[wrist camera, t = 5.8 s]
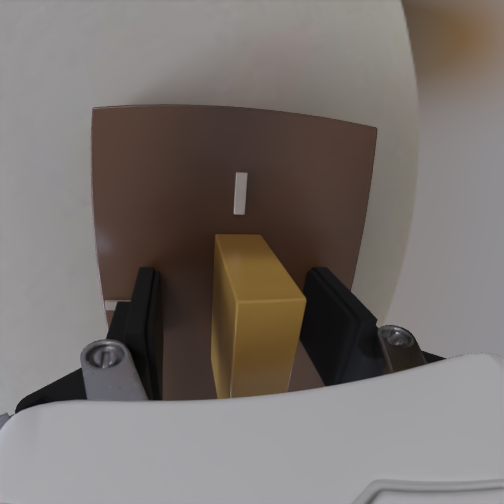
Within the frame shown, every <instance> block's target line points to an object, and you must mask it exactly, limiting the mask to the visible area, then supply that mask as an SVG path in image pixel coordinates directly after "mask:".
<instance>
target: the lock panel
mask: <svg viewBox="0 0 504 504" xmlns="http://www.w3.org/2000/svg"><path fill="white" fill-rule="evenodd" d="M376 138H377V128H376V127H372V126H367V125H362V124H358V123H353V122H347V121H342V120H337V119H331V118H325V117H319V116H312V115H306V114H299V113H291V112H283V111H275V110H265V109H255V108H243V107H229V106H212V105H174V104H161V105H125V106H107V107H94V108H93V109H92V126H91V191H92V211H93V226H94V238H95V248H96V257H97V266H98V274H99V281H100V288H101V295H102V301H103V307H104V313H105V318H106V324H107V329H108V331H109V327H110V324H111V320H112V317H113V314H114V311H115V307H116V304H117V302H118V301H131V297H132V293H133V290H134V286H135V282H136V278H137V275H138V271H139V268H140V267H154V268H155V271H160V276H161V300H162V317H163V332H164V348H163V401H174V400H207V399H218V397H217V391H216V386H215V380H214V374H213V368H212V362H211V337H212V300H213V272H214V249H215V235H216V234H250V235H261V236H262V237H263V239H264V240H265V241H266V243H267V244H268V246H269V247H270V248H271V250H272V251H273V253H274V254H275V255H276V257H277V258H278V260H279V261H280V262H281V264H282V265H283V267H284V268H285V269H286V271H287V272H288V274H289V275H290V276H291V278H292V279H293V281H294V282H295V283H296V285H297V286H298V288H299V289H300V291H301V292H302V293H303V290H304V284H305V279H306V274H307V272H308V271H310V270H311V268H312V267H327V268H328V269H329V270H330V271H331V272H332V273H333V274H334V275H335V276H336V277H337V278H338V279H339V280H340V281H341V282H342V283H343V284H344V285H345V286H346V287H347V288H348V289H349V290H350V291H351V287H352V283H353V278H354V274H355V269H356V264H357V260H358V255H359V250H360V245H361V239H362V234H363V229H364V223H365V217H366V211H367V205H368V199H369V192H370V186H371V179H372V171H373V164H374V156H375V147H376ZM321 387H325V385H324V383H323V381H322V379H321V378H320V376H319V374H318V372H317V370H316V369H315V367H314V365H313V363H312V361H311V360H310V358H309V356H308V354H307V352H306V351H305V349H304V347H303V345H302V343H301V342H300V340H299V341H298V346H297V350H296V355H295V360H294V364H293V369H292V373H291V378H290V382H289V386H288V391H287V393H288V392H295V391H302V390H309V389H315V388H321Z"/></svg>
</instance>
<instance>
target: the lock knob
mask: <svg viewBox="0 0 504 504" xmlns="http://www.w3.org/2000/svg"><path fill="white" fill-rule="evenodd" d="M305 306H306V298H305V296H304V295H303V293H302V292H301V291H300V289H299V288H298V286H297V285H296V283H295V282H294V281H293V279H292V278H291V276H290V275H289V274H288V272H287V271H286V269H285V268H284V267H283V265H282V264H281V262H280V261H279V260H278V258H277V257H276V255H275V254H274V253H273V251H272V250H271V248H270V247H269V246H268V244H267V243H266V241H265V240H264V239H263V237H262V236H261V235H250V234H216V235H215V249H214V272H213V300H212V337H211V362H212V368H213V374H214V380H215V386H216V391H217V397H218V399H225V398H239V397H251V396H261V395H271V394H280V393H287V391H288V386H289V382H290V378H291V373H292V369H293V364H294V360H295V355H296V350H297V346H298V341H299V336H300V331H301V326H302V321H303V316H304V311H305Z"/></svg>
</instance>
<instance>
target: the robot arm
mask: <svg viewBox="0 0 504 504" xmlns="http://www.w3.org/2000/svg"><path fill="white" fill-rule="evenodd" d="M303 295H304V296H305V298H306V306H305V311H304V316H303V321H302V326H301V331H300V336H299V340H300V342H301V343H302V345H303V347H304V349H305V351H306V352H307V354H308V356H309V358H310V360H311V361H312V363H313V365H314V367H315V369H316V370H317V372H318V374H319V376H320V378H321V379H322V381H323V383H324V385H325V387H321V388H315V389H309V390H302V391H295V392H288V393H280V394H271V395H261V396H251V397H239V398H225V399H207V400H174V401H163V348H164V332H163V317H162V300H161V276H160V271H155V268H154V267H140V268H139V271H138V275H137V278H136V282H135V286H134V290H133V293H132V297H131V301H118V302H117V304H116V307H115V311H114V314H113V317H112V320H111V324H110V327H109V331H108V334H107V337H106V339H104V340H98V341H94V342H92V343H91V344H89V345H87V346H86V347H85V348H84V349H83V351H82V353H81V365H82V368H80V369H78V370H76V371H74V372H72V373H70V374H68V375H66V376H64V377H63V378H61V379H59V380H57V381H55V382H53V383H51V384H49V385H47V386H45V387H43V388H41V389H39V390H38V391H36V392H34V393H32V394H30V395H28V396H26V397H25V398H23V399H22V400H21V401H20V402H19V404H18V405H17V407H16V410H15V414H13V415H11V416H9V415H8V413H4V414H2V415H0V504H504V358H503V357H502V356H499V355H495V354H490V353H471V354H465V355H460V356H456V357H452V358H448V359H446V358H443V357H439V356H437V355H434V354H430V353H427V352H424V351H421V349H420V347H419V345H418V343H417V341H416V339H415V337H414V336H413V335H412V334H411V333H410V332H409V331H408V330H406V329H404V328H402V327H399V326H394V325H385V326H382V327H380V328H378V327H377V326H376V323H377V318H376V317H375V316H374V315H373V314H372V313H371V312H370V311H369V310H368V309H367V308H366V307H365V306H364V305H363V304H362V303H361V302H360V301H359V300H358V299H357V297H356V296H355V295H354V294H353V293H352V292H351V291H350V290H349V289H348V288H347V287H346V286H345V285H344V284H343V283H342V282H341V281H340V280H339V279H338V278H337V277H336V276H335V275H334V274H333V273H332V272H331V271H330V270H329V269H328V268H327V267H312V268H311V270H310V271H308V272H307V274H306V279H305V284H304V290H303Z"/></svg>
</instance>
